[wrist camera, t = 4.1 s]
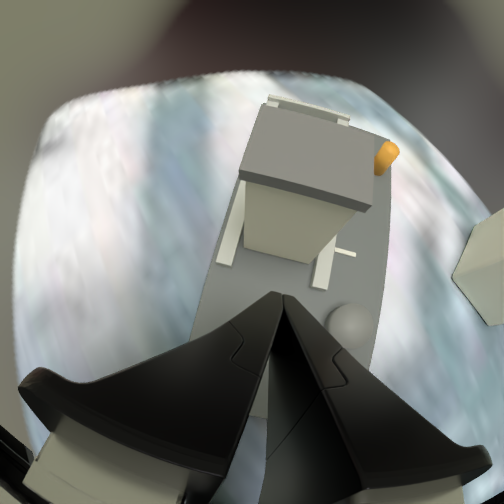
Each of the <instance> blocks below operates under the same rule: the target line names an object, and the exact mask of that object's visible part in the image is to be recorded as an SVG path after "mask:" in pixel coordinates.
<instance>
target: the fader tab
mask: <svg viewBox="0 0 504 504" xmlns="http://www.w3.org/2000/svg"><path fill="white" fill-rule="evenodd" d="M239 180H243V181H246V184H245V217H244V248H247V249H251V250H255V251H259V252H263V253H266V254H270V255H274V256H278V257H282V258H286V259H290V260H294V261H298V262H302V263H306V264H310V263H311V261H312V260H313V259H314V258H315V257H316V256H317V255H318V254H319V253H320V252H321V251H322V250H323V248H324V247H325V246H326V245H327V244H328V243H329V242H330V241H331V240H332V239H333V237H334V236H335V235H336V234H337V233H338V232H339V231H340V230H341V229H342V227H343V226H344V225H345V224H346V223H347V222H348V221H349V220H350V218H351V217H352V216H353V215H354V214H355V213H356V212H357V211H359V212H362V213H365V212H366V211H367V210H368V209H369V208H370V207H371V206H372V201H373V182H374V136H373V135H371V134H368V133H365V132H362V131H359V130H356V129H353V128H350V127H347V126H344V125H341V124H338V123H334V122H331V121H328V120H324V119H321V118H317V117H314V116H310V115H306V114H302V113H298V112H294V111H290V110H286V109H281V108H277V107H272V106H268V105H263V104H262V105H261V107H260V110H259V113H258V116H257V118H256V121H255V124H254V127H253V130H252V133H251V135H250V138H249V141H248V144H247V147H246V150H245V153H244V156H243V159H242V162H241V164H240V167H239Z"/></svg>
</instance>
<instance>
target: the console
mask: <svg viewBox="0 0 504 504" xmlns="http://www.w3.org/2000/svg"><path fill="white" fill-rule="evenodd" d="M263 105H268V106H272V107H277V108H281V109H286V110H290V111H294V112H298V113H302V114H306V115H310V116H314V117H317V118H321V119H324V120H328V121H331V122H334V123H338V124H341V125H344V126H347V127H350V128H353V129H356V130H359V131H362V132H365V133H368V134H371V135H373V136H374V182H373V201H372V206H371V207H370V208H369V209H368V210H367V211H366V212H365V213H362V212H359V211H357V212H356V213H355V214H354V215H353V216H352V217H351V218H350V220H349V221H348V222H347V223H346V224H345V225H344V226H343V227H342V229H341V230H340V231H339V232H338V233H337V234H336V235H335V236H334V237H333V239H332V240H331V241H330V242H329V243H328V244H327V245H326V246H325V247H324V248H323V250H322V251H321V252H320V253H319V254H318V255H317V256H316V257H315V258H314V259H313V260H312V261H311V263H310V264H306V263H302V262H298V261H294V260H290V259H286V258H282V257H278V256H274V255H270V254H266V253H263V252H259V251H255V250H251V249H247V248H244V217H245V184H246V181H243V180H239V175H238V178H237V181H236V184H235V187H234V191H233V194H232V197H231V200H230V203H229V206H228V209H227V212H226V216H225V219H224V222H223V225H222V228H221V232H220V235H219V238H218V241H217V245H216V248H215V251H214V255H213V258H212V261H211V265H210V268H209V272H208V275H207V278H206V282H205V285H204V289H203V292H202V296H201V299H200V303H199V306H198V310H197V314H196V317H195V321H194V325H193V328H192V332H191V336H190V339H189V342H190V341H192V340H194V339H197V338H199V337H201V336H203V335H205V334H207V333H209V332H211V331H212V330H214V329H216V328H217V327H219V326H221V325H222V324H223V323H225V322H227V321H229V320H230V319H231V318H233V317H234V316H236V315H237V314H239V313H240V312H242V311H243V310H244V309H246V308H247V307H249V306H250V305H251V304H253V303H254V302H256V301H257V300H259V299H260V298H261V297H263V296H264V295H266V294H267V293H268V292H270V291H275V292H279V293H281V294H282V295H283V294H287V295H291V296H294V297H295V298H296V299H297V300H298V301H299V302H300V303H301V304H302V305H303V306H304V307H305V308H306V309H307V310H308V311H309V312H310V313H311V314H312V315H313V316H314V317H315V318H316V319H317V321H318V322H319V323H320V324H321V325H322V326H323V327H324V328H325V329H326V330H327V331H328V332H329V333H330V334H331V335H332V336H333V337H334V338H335V339H336V340H337V341H338V342H339V343H340V344H341V345H342V346H343V348H345V349H346V350H347V351H348V352H349V353H350V354H351V355H352V356H353V357H354V358H355V359H356V360H357V361H358V362H359V363H360V364H361V365H363V366H364V367H365V368H366V369H367V370H368V371H369V367H370V362H371V358H372V353H373V349H374V344H375V339H376V334H377V328H378V323H379V317H380V311H381V305H382V298H383V291H384V283H385V275H386V266H387V256H388V245H389V231H390V211H391V164H392V162H393V161H394V160H395V159H396V157H397V156H398V155H399V153H400V151H399V148H398V147H397V145H396V144H394V143H393V142H390V140H389V139H386V138H384V137H381V136H378V135H376V134H373V133H370V132H367V131H364V130H362V129H359V128H356V127H353V126H350V125H349V120H350V116H349V115H346V114H343V113H340V112H337V111H333V110H330V109H326V108H323V107H319V106H316V105H312V104H308V103H304V102H300V101H296V100H292V99H288V98H284V97H279V96H274V95H269V96H268V101H267V104H266V103H263ZM268 378H269V358H268V361H267V364H266V367H265V370H264V373H263V376H262V379H261V382H260V385H259V388H258V391H257V394H256V397H255V400H254V403H253V406H252V408H251V411H250V414H249V415H250V416H255V417H260V418H265V419H267V415H268Z"/></svg>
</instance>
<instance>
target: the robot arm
mask: <svg viewBox="0 0 504 504" xmlns="http://www.w3.org/2000/svg"><path fill="white" fill-rule="evenodd" d="M268 358H269V378H268V415H267V444H266V467H265V475H264V480H263V485H262V489H261V494H260V498H259V502H258V504H465V503H464V495H463V488H462V486H463V485H465V484H467V483H469V482H470V481H472V480H474V479H476V478H477V477H479V476H480V475H482V474H483V473H485V472H486V471H487V470H489V469H490V468H491V467H492V460H491V457H490V455H489V453H488V451H487V450H486V448H485V447H484V446H483V445H475V446H471V447H463V446H460V445H458V444H456V443H454V442H453V441H452V440H451V439H449V438H448V437H447V436H446V435H444V434H443V433H442V432H441V431H440V430H438V429H437V428H436V427H435V426H434V425H432V424H431V423H430V422H429V421H427V420H426V419H425V418H424V417H423V416H421V415H420V414H419V413H418V412H417V411H415V410H414V409H413V408H412V407H411V406H409V405H408V404H407V403H406V402H405V401H404V400H402V399H401V398H400V397H399V396H398V395H396V394H395V393H394V392H393V391H392V390H390V389H389V388H388V387H387V386H386V385H385V384H383V383H382V382H381V381H380V380H379V379H377V378H376V377H375V376H374V375H373V374H372V373H370V372H369V371H368V370H367V369H366V368H365V367H364V366H363V365H361V364H360V363H359V362H358V361H357V360H356V359H355V358H354V357H353V356H352V355H351V354H350V353H349V352H348V351H347V350H346V349H345V348H343V346H342V345H341V344H340V343H339V342H338V341H337V340H336V339H335V338H334V337H333V336H332V335H331V334H330V333H329V332H328V331H327V330H326V329H325V328H324V327H323V326H322V325H321V324H320V323H319V322H318V321H317V319H316V318H315V317H314V316H313V315H312V314H311V313H310V312H309V311H308V310H307V309H306V308H305V307H304V306H303V305H302V304H301V303H300V302H299V301H298V300H297V299H296V298H295V297H294V296H291V295H287V294H283V295H282V294H281V293H279V292H275V291H270V292H268V293H267V294H266V295H264V296H263V297H261V298H260V299H259V300H257V301H256V302H254V303H253V304H251V305H250V306H249V307H247V308H246V309H244V310H243V311H242V312H240V313H239V314H237V315H236V316H234V317H233V318H231V319H230V320H229V321H227V322H225V323H223V324H222V325H221V326H219V327H217V328H216V329H214V330H212V331H211V332H209V333H207V334H205V335H203V336H201V337H199V338H197V339H194V340H192V341H190V342H188V343H185V344H183V345H181V346H179V347H176V348H174V349H172V350H169V351H167V352H165V353H162V354H160V355H158V356H155V357H153V358H150V359H148V360H146V361H143V362H141V363H138V364H136V365H133V366H131V367H129V368H126V369H124V370H121V371H118V372H116V373H113V374H111V375H108V376H106V377H103V378H100V379H98V380H95V381H92V382H88V383H78V382H72V381H70V380H68V379H66V378H64V377H62V376H61V375H59V374H57V373H55V372H53V371H52V370H50V369H47V368H44V367H38V368H36V369H34V370H33V371H32V372H30V373H29V374H28V375H27V376H26V377H25V378H24V379H23V381H22V382H21V383H20V385H19V386H18V391H19V393H20V395H21V397H22V398H23V399H24V401H25V402H26V403H27V405H28V406H29V407H30V409H31V410H32V411H33V412H34V414H35V415H36V416H37V417H38V418H39V420H40V421H41V422H42V423H43V424H44V426H45V427H46V428H47V429H48V430H49V431H50V432H51V433H50V435H49V437H48V438H47V440H46V442H45V444H44V445H43V447H42V449H41V451H40V452H39V454H38V456H36V458H35V459H34V456H33V453H32V451H30V450H29V449H28V448H27V447H26V446H25V445H24V444H22V443H21V442H20V441H18V440H17V439H16V438H15V437H14V436H13V435H11V434H10V433H9V432H8V431H7V430H5V429H4V428H3V427H2V426H1V425H0V504H209V503H210V502H211V500H212V499H213V497H214V496H215V494H216V493H217V491H218V490H219V488H220V486H221V485H222V483H223V482H224V480H225V478H226V476H227V473H228V470H229V468H230V465H231V462H232V460H233V457H234V455H235V452H236V449H237V447H238V444H239V441H240V439H241V436H242V433H243V431H244V428H245V425H246V422H247V420H248V417H249V414H250V411H251V408H252V406H253V403H254V400H255V397H256V394H257V391H258V388H259V385H260V382H261V379H262V376H263V373H264V370H265V367H266V364H267V361H268ZM481 504H504V491H503V492H501V493H499V494H497V495H496V496H494V497H492V498H491V499H489V500H487V501H485V502H483V503H481Z"/></svg>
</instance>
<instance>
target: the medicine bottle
mask: <svg viewBox="0 0 504 504" xmlns="http://www.w3.org/2000/svg"><path fill="white" fill-rule="evenodd" d="M452 278H453V281H454V282H455V283H456V284H457V285H458V287H459V288H460V289H461V290H462V292H463V293H464V294H465V295H466V297H467V298H468V299H469V300H470V302H471V303H472V304H473V306H474V307H475V308H476V310H477V311H478V312H479V314H480V315H481V316H482V318H483V319H484V321H485V322H486V323H487V325H488V326H494V325H501V324H504V208H503V209H502V210H500V211H498V212H497V213H495V214H494V215H492V216H490V217H489V218H487V219H485V220H484V221H482V222H480V223H479V224H477V225H475V226H474V228H473V231H472V233H471V236H470V238H469V240H468V243H467V245H466V248H465V250H464V252H463V254H462V257H461V259H460V261H459V263H458V265H457V268H456V270H455V272H454V274H453V276H452Z"/></svg>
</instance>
